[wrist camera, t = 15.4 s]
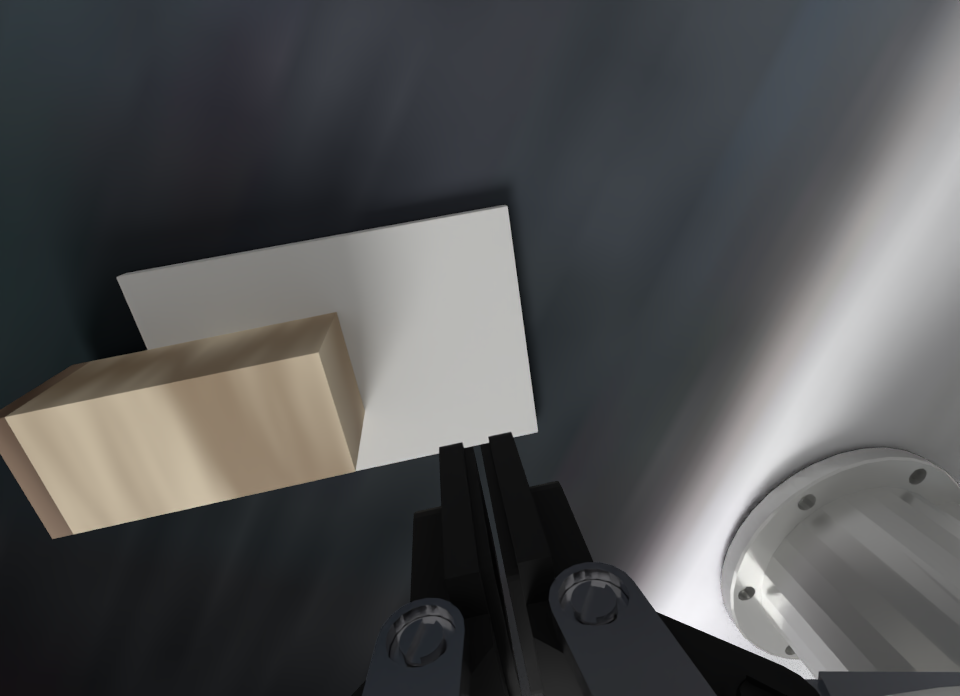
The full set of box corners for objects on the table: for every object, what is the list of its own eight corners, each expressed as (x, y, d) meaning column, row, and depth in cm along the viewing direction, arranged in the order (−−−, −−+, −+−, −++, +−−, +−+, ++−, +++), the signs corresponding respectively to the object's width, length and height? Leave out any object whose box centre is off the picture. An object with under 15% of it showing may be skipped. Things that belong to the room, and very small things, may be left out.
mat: (504, 204, 18) (507, 206, 17) (534, 425, 21) (538, 431, 21) (125, 272, 17) (115, 277, 16) (218, 492, 20) (213, 501, 20)
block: (318, 352, 14) (-19, 421, 14) (355, 471, 16) (52, 538, 15) (336, 312, 18) (72, 365, 17) (365, 411, 19) (122, 463, 19)
